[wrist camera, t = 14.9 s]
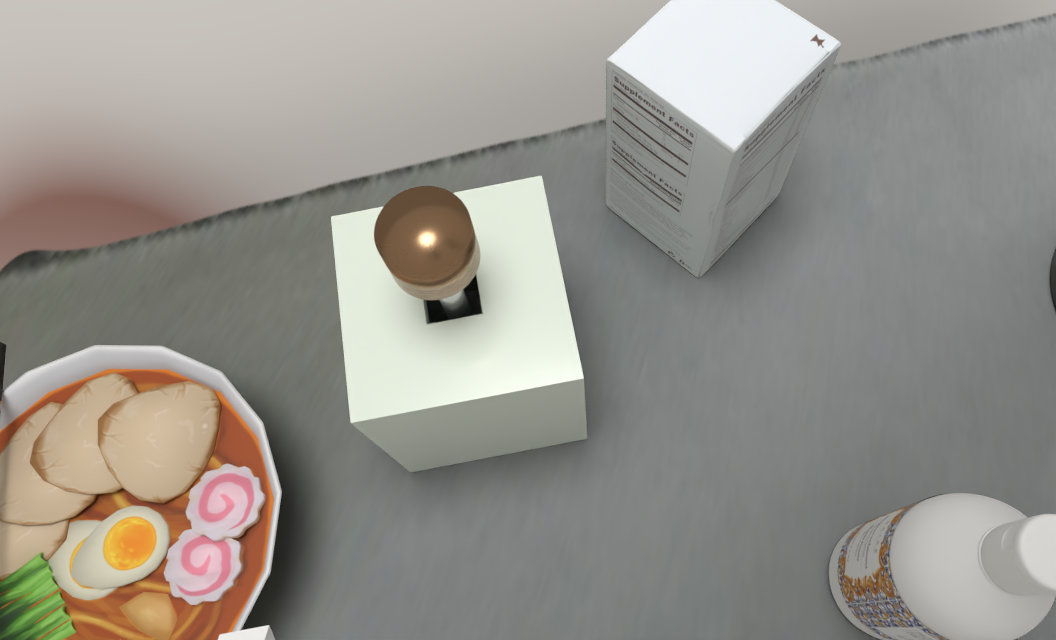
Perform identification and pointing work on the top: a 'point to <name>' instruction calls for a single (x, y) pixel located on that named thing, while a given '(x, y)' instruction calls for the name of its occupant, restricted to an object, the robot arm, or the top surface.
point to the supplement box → (709, 120)
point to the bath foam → (947, 571)
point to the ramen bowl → (131, 499)
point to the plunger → (431, 250)
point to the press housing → (463, 341)
